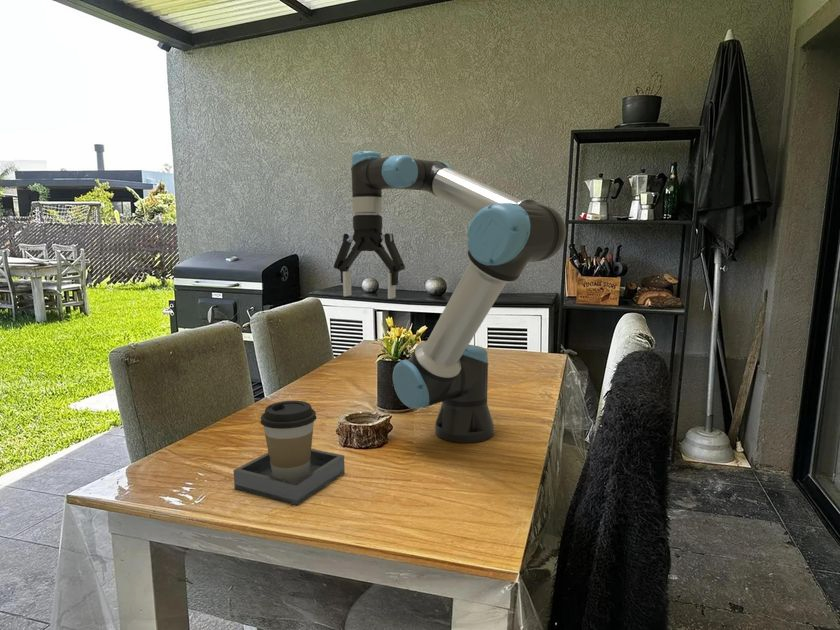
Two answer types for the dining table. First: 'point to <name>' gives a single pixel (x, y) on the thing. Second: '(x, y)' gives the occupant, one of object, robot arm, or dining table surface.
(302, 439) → the coffee cup
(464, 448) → the dining table surface
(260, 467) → the square tray
